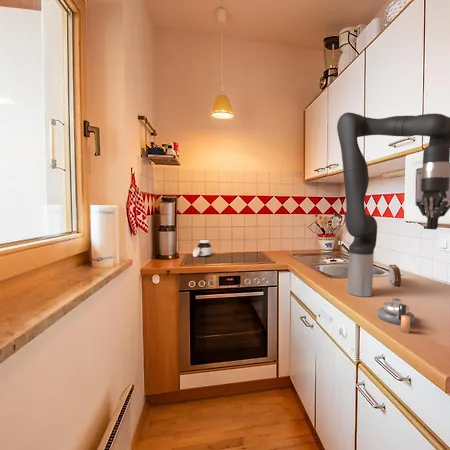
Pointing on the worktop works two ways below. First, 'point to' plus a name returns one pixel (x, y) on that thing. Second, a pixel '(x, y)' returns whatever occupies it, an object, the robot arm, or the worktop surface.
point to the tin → (394, 275)
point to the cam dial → (396, 308)
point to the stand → (404, 322)
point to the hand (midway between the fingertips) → (432, 229)
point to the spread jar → (203, 249)
